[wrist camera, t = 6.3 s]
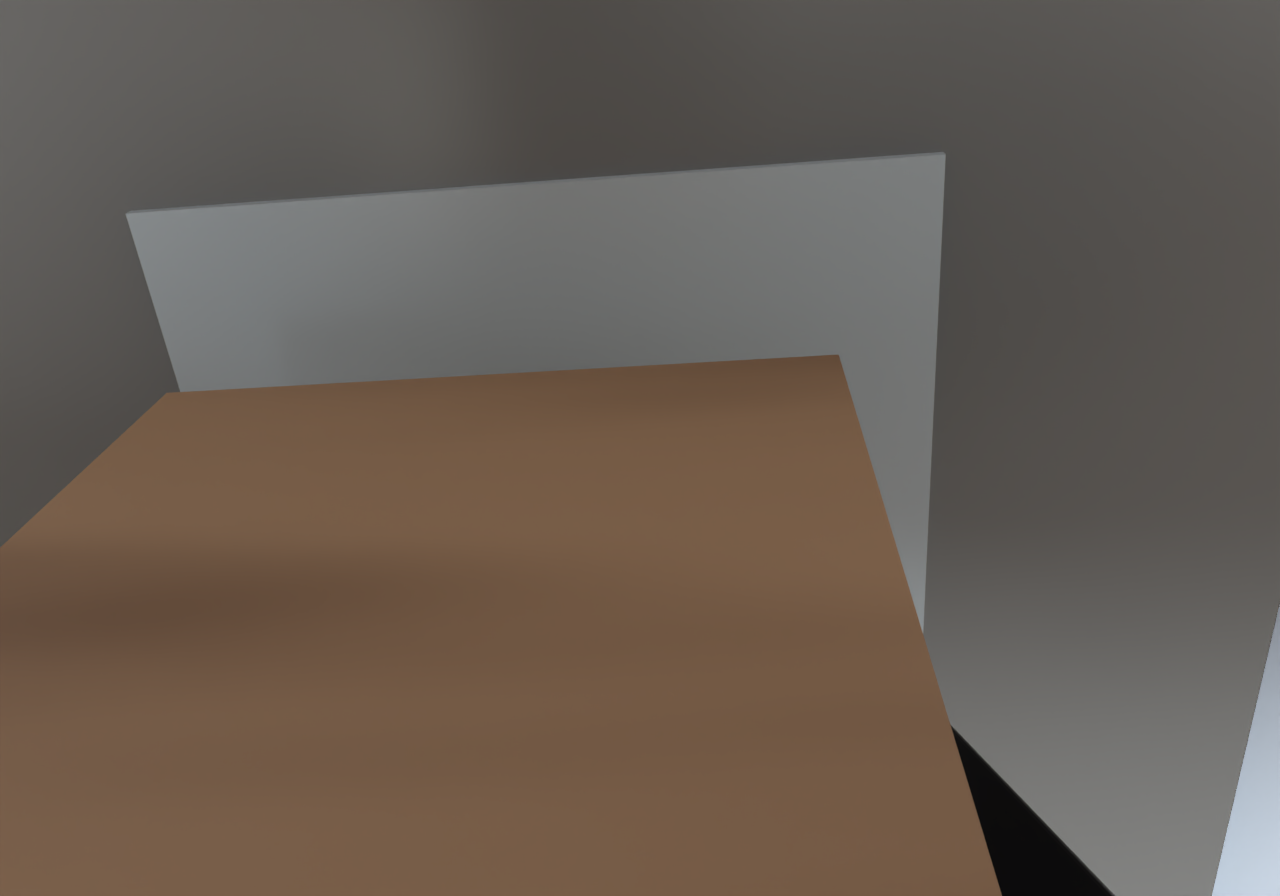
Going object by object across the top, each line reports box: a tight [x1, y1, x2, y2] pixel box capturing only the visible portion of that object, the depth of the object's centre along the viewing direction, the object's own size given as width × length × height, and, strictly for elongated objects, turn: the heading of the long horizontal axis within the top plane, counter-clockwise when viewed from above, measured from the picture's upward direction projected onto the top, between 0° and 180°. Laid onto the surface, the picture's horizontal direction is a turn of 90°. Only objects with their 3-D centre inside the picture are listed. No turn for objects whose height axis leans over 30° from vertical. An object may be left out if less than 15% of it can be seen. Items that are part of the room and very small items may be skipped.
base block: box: [0, 355, 1002, 896], centre depth 7 cm, size 5×5×5 cm
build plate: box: [0, 0, 1280, 896], centre depth 11 cm, size 14×14×1 cm
